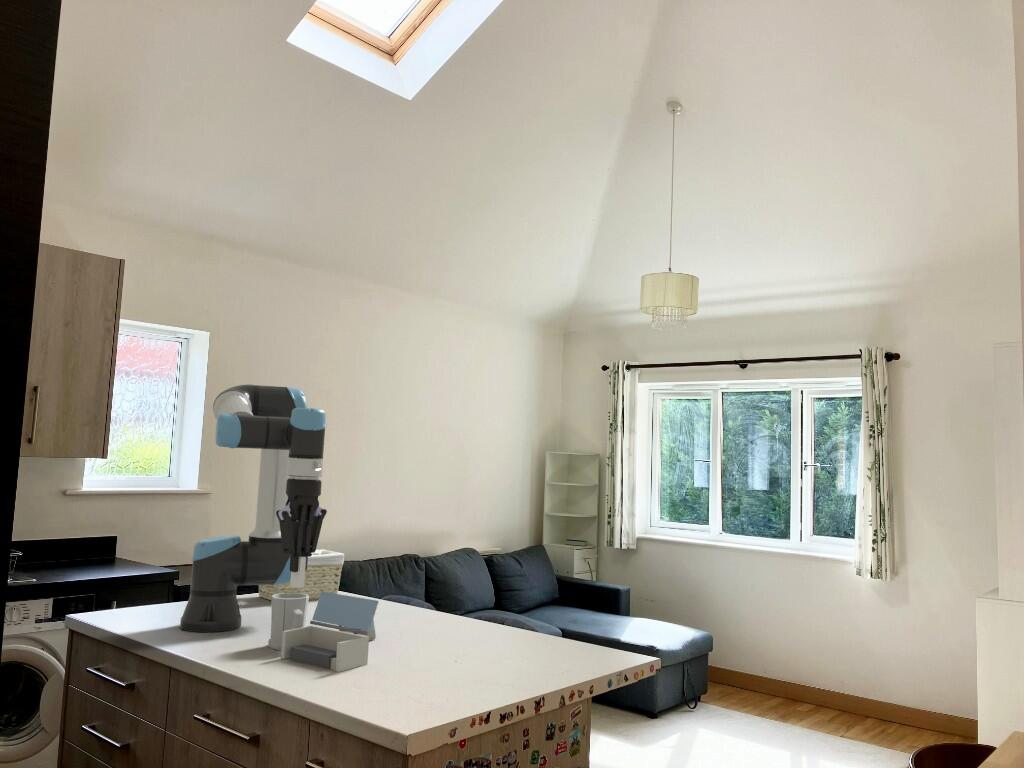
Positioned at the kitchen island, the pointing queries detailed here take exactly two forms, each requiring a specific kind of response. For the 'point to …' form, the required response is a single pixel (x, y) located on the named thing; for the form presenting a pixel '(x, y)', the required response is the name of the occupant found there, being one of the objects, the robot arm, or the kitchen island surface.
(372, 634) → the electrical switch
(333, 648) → the white u-shaped bracket
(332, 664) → the dark grey block
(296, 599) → the cup
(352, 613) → the cover
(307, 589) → the storage basket
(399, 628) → the kitchen island surface
